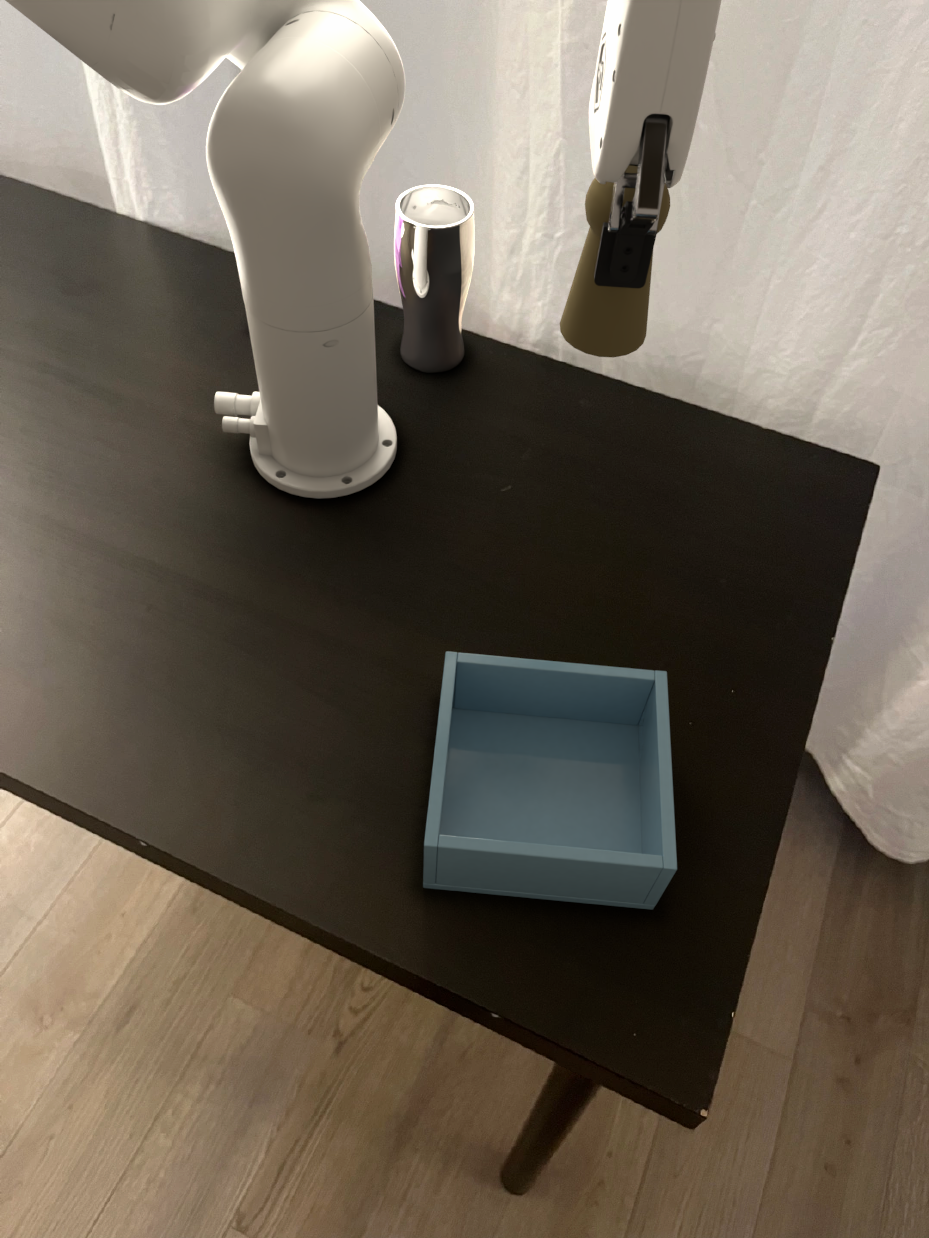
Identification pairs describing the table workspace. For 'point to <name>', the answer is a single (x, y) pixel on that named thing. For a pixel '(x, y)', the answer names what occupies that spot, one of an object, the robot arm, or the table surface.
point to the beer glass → (433, 273)
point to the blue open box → (551, 782)
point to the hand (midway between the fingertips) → (616, 254)
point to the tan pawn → (606, 288)
